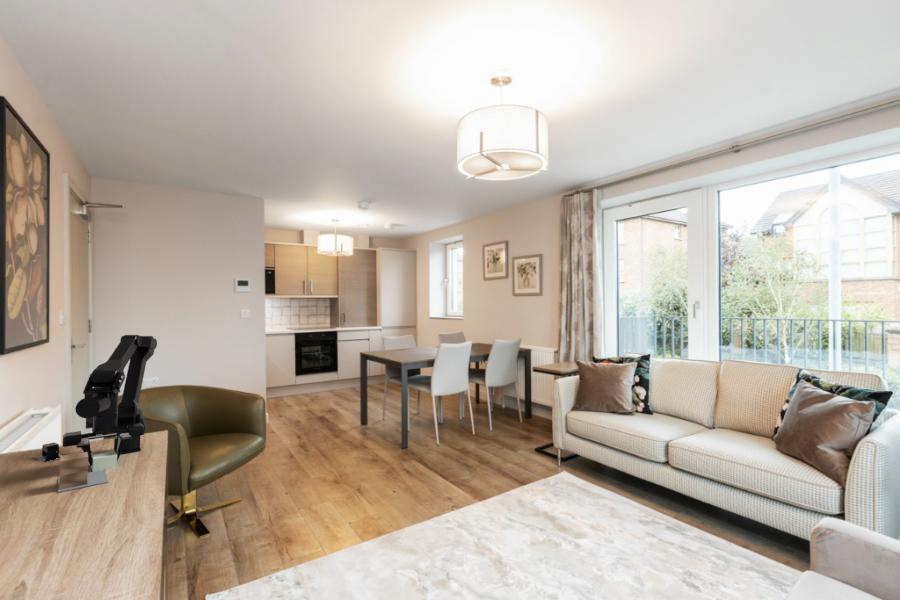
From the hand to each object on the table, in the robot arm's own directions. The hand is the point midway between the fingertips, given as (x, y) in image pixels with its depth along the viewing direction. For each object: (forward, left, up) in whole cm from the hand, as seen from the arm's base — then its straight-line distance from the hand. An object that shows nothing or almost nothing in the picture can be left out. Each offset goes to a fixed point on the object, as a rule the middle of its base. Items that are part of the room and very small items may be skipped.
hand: (103, 463), depth 127 cm
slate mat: (+5, +10, -1) cm, 11 cm away
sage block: (0, 0, -1) cm, 1 cm away
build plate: (+12, -22, -2) cm, 25 cm away
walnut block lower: (+7, +12, -1) cm, 14 cm away
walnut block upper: (+7, +12, +3) cm, 14 cm away
